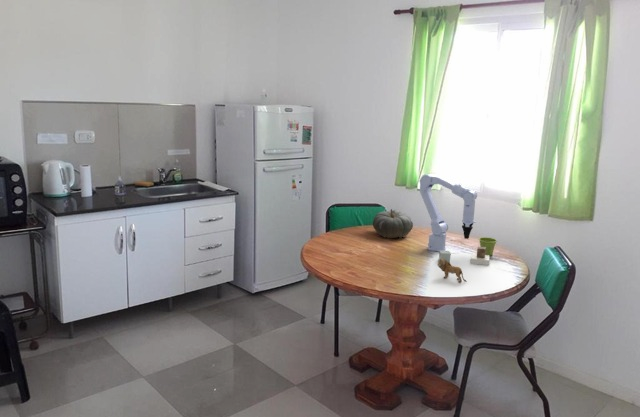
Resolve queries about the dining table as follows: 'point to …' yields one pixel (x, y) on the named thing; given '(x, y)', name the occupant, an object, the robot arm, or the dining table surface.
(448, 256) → the grey cube
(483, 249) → the walnut block
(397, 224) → the gourd
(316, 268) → the dining table surface
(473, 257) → the cream block
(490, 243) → the plant pot
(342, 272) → the dining table surface
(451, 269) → the lion figurine
